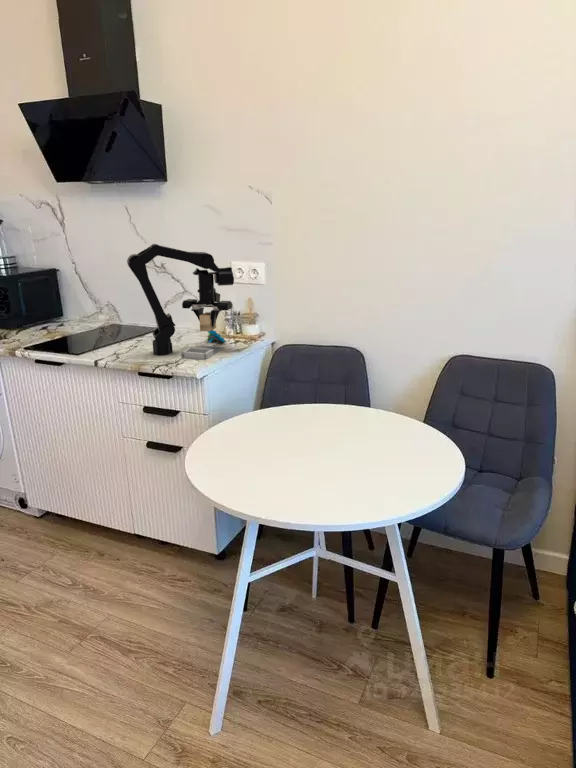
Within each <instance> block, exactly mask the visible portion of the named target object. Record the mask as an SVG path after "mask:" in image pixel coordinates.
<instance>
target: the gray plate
mask: <svg viewBox="0 0 576 768" xmlns="http://www.w3.org/2000/svg"><path fill="white" fill-rule="evenodd" d="M225 348H226V347H225V346H224V347H223V346H215V345H214V346H213V345H212V346H210V345H201V346H199V347H188V348H186V349H184V350H183V351H181V353H180V354H181V357H180V359H186V360H198V361H199V360H200V361H206V360H208V359H209V358H212V356H214V355H216V354H217V353H219V352H221V351H222V350H223V349H225Z"/></svg>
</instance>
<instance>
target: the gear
mask: <svg viewBox="0 0 576 768" xmlns="http://www.w3.org/2000/svg"><path fill="white" fill-rule="evenodd" d="M206 332H207V333H208V334H207V335H208V336H207V338H206V341H208V342H207V343H210V344H211V343H212V342H213V341H214V340H218V341H220V342H222V343H226V339H225V338H224V337H221V336H222V335H221V334H219V333H217V331H216V330H214V329H213V330H211V331H206Z"/></svg>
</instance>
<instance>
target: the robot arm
mask: <svg viewBox="0 0 576 768" xmlns="http://www.w3.org/2000/svg"><path fill="white" fill-rule="evenodd" d="M157 256H159V257H163V258H168V259H172V260H177V261H182V262H185V263H186V262H187V263H190V264H192V265H194V266H197V267H196V268H195V270H193V272H192V274H193V275H194V276H198V277H197V278H198V289H197V293H198V297H199V298H198V299H199V300H197V299H195V298H194V299H193V298H188V299H187V298H186V299H185V300H183V301H182V303H181V307H182V309H191V312H193V313H194V314H195V316H196V318H197V320H198V321H199V322H200V318H199V315H201V314H204V309H205V308H212V310H210V312H211V320H212V327H214V326H215V323H216V324H217V320H218V316H219V313H220V312H221V311H229V310H231V309H233V303H232V301H231V300H221V294H220V293H218V292H217V291H216V287H215V285H214V283H215V284H216V285H217V286H219V287H220V286H222V287H223V286H224V287H225V286H233V285H234V282H235V277H234V273H233V268H232V267H231V266H227V267H219V266H218V265H217V264H216V263H215V259H214V256H213V255H212V254H210V253H208V252H205V251H187V250H183V249H182V250H181V249H179V248H174V247H170V246H169V247H168V246H164V245H159V244H157V243H152V244H151V245H149V247H147V248H144V249H143V250H142V251H140V252H138V253H137V254H136V253H133V254H130V255H129V256H128V257H127V259H126V263H127V266H128V268H129V270H131V272H132V273H133V275H134V276H135V277H136V279H137V280H138V283H139V285H140V286H141V289H142V290H143V293H144V296H145V297H146V299H147V302H148V304H149V306H150V308H151V310H152V312H153V315H154V319H155V323H156V328H155V329H154V330H153V332H152V333H151V334H152V337H153V338H154V339H153V340H152V351H153V352H152V353H153V355H155V356H158V357H159V356H167V355H171V354H172V353H173V350H174V349H173V343H172V339H171V338H172V337H173V336H174V334H175V332H176V328H175V327H176V323H174V321H173V317H172V315H171V314H170V313H169V312H168V313H167V314H166V313H165V311H164V309H163V306H162V305H161V302H160V299H159V298H158V295H157V293H156V291H155V289H154V287H153V285H152V282H151V280H150V279H149V273H148V269H147V264H148V263H150V262H151V261H153V259H155V258H156V257H157ZM198 267H200V268H202V269H199V268H198ZM208 270H210V271H208Z"/></svg>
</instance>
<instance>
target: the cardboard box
mask: <svg viewBox="0 0 576 768" xmlns="http://www.w3.org/2000/svg"><path fill="white" fill-rule="evenodd" d="M199 318H200V321H199V330H200V332H207V331H211V330H213V331H214V330H215V329H217V322H216V323H215V326H214V327H212V320H211V311H207V312H206V311H205V312H203V314H201V315H199Z"/></svg>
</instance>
